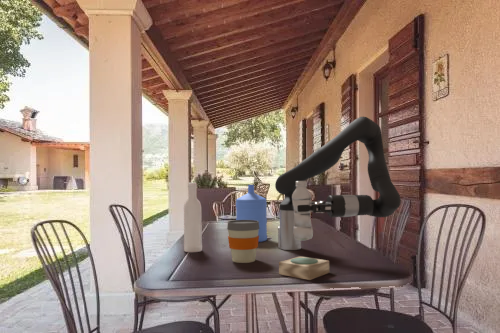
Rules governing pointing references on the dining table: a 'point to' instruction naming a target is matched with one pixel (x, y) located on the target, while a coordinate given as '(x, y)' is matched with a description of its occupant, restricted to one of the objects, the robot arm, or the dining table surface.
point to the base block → (304, 267)
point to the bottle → (192, 221)
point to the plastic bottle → (301, 219)
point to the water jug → (253, 211)
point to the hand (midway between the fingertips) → (295, 207)
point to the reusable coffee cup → (243, 240)
